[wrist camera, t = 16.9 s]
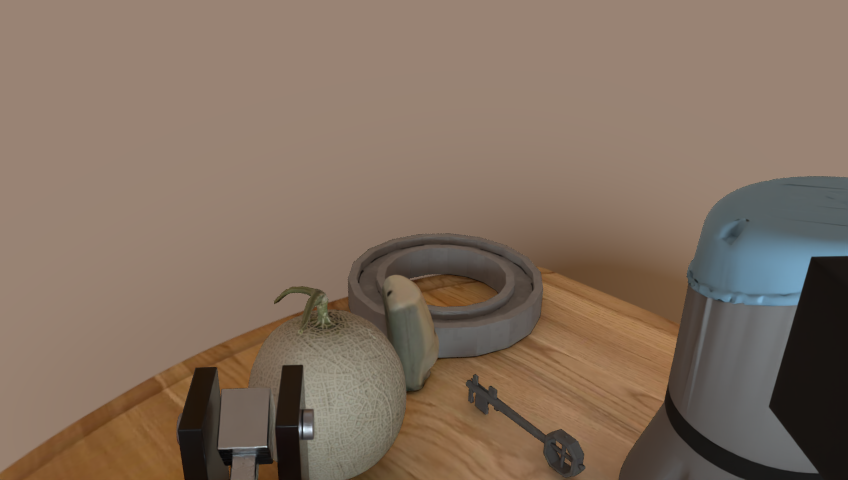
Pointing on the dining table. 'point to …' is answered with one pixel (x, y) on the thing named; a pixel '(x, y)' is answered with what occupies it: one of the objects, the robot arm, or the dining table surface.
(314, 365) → the fruit
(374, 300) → the mechanical component
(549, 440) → the key
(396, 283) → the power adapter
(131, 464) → the dining table surface
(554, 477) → the dining table surface
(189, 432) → the bracket
